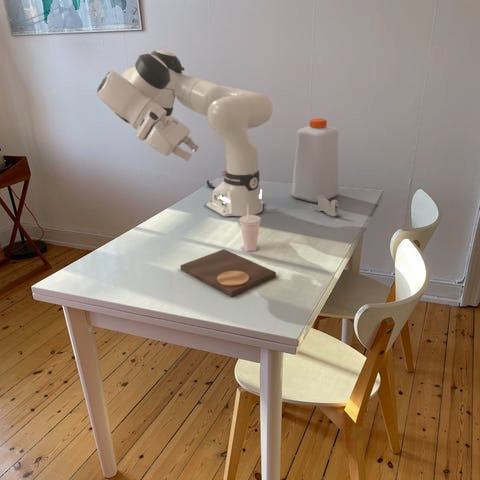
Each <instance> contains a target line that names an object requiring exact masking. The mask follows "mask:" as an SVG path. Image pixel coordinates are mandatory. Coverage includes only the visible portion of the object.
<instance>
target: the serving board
mask: <svg viewBox="0 0 480 480" xmlns="http://www.w3.org/2000/svg"><path fill="white" fill-rule="evenodd" d="M180 271H182V272H184V273H186V274H187V275H189V276H191V277H193V278H195V279H197V280H198V281H201V282H202V283H204V284H206V285H208V286H209V287H212V288H214V289H215V290H217V291H219V292H221V293H223V294H225V295H227V296H229V297H231V298H232V297H234V296H236V295H239V294H241V293H243V292H246V291H247V290H250V289H252V288H255V287H257V286H259V285H261V284H263V283H265V282H268V281H271V280H273V279H275V278H276V277H277V272H276V271H274V270H272V269H270V268H268V267H265V266H263V265H261V264H259V263H256V262H254V261H252V260H250V259H247V258H245V257H243V256H241V255H238V254H236V253H234V252H231V251H229V250H227V249H225V248H223V249H220V250H218V251H215V252H212V253H210V254H207V255H204V256H201V257H199V258H196V259H194V260H191V261H188V262H185V263H182V264H180Z"/></svg>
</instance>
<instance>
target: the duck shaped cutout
mask: <svg viewBox="0 0 480 480" xmlns="http://www.w3.org/2000/svg"><path fill="white" fill-rule="evenodd" d="M339 206H340V205H339V201H338V200H337V199H332V200H331V201H330V200H329V199H328V200H327V199H325V197H324V196H323V195H320V196H318V203H317V212H324V213H325V214H327V215H328V216H329V217H338V216H339V215H340V212H339Z"/></svg>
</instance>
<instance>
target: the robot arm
mask: <svg viewBox="0 0 480 480" xmlns="http://www.w3.org/2000/svg"><path fill="white" fill-rule="evenodd" d="M183 72H185V67H183V66H182V63H181V60H180V59H179V58H178V56H177V55H175V54H174V53H173V52H171V51H169V50H166V49H158V50H152V52H150V53H143V54H140V55H138V58H137V59H136V62H135V63H134V66H133V65H132V66H129V67H127V68H126V69H124V71H123V72H122V73H121V74H119V73H117V72H116V71H114V70H110V71H108V72H107V73H106V74H105V75H104V77H103V79H102V80H101V82H100V84H99V85H98V87H97V91H96V92H97V93H96V95H97V96H98V98H99V99H100V100H101V102H103V103H104V104H105V105H106V106H107V107H108V108H109V109H110V110H111V111H112V112H114V114H115V115H116V116H117V117H119V118H120V119H121V120H122V121H123V122H125V123H127V124H130V125H131V126H132V128H134V129H135V130H136V138H137V139H138V140H140V141H141V142H144V141H145V142H146V144H148V145H149V147H151V148H153V149H154V150H156V151H157V152H158V153H160V154H161V155H163V156H166V157H169V156H170V155H172V154H173V155H175V156H176V157H179V158H182V159H183V161H186V162H188V161H189V160H190V159H191V158H192V154H191V153H190V152H189V151H188V150H187V151H186V150H184V149H183V148H182V147H181V146H180V145H181V144H184V145H186V146H188V148H189V150H191V151H192V153H196V152H197V151H199V148H200V146H199V145H198V144H197V143H195V141H194V140H193V139H192V136H189V135H190V133H191V130H190V128H189V127H188V126H186V125H185V124H184V123H182V121H180V120H178V119H177V118H175V117H174V116H173V115H172V114H173V110H174V104H175V101H176V99H177V101H178V102H179V103H180V104H182V105H183V106H184V107H186V108H188V109H189V110H190V111H192V112H195V113H197V114H200V115H202V116H204V117H207V121H208V124H209V127H210V128H211V129H212V130H213V131H214V132H215V133H216V134H218V136H219V138H220V139H221V141H222V144H223V148H224V151H225V162H226V163H225V165H226V171H222V172H221V174H222V176H224V177H223V181H222V182H221V183H219V184H218V185H217V186H213V185H211V184H210V181H209V180H208V179H207V180H206V185H207V186H208V188H210V189H213V191H212V196H211V197H212V199H211V200H209V201H207V203H206V207H207V208H209V209H210V210H213V211H214V212H216V213H217V214H219V215H220V216H222V217H242V216H245V215H247V204H249V215H258V214H260V213H262V212H263V210H264V208H263V206H264V201H262V194H263V193H262V192H263V190H262V189H261V185H260V176H261V174H260V170H259V149H258V146H257V145H256V144H255V143H254V142H252V141H250V138H249V135H248V130H249V129H254V128H257V127H260V126H263V124H265V123H266V122H268V121H269V120H270V119H271V118H272V115H273V103H272V100H271V98H270V97H269V96H268V95H267V94H265V93H263V92H256V91H251V90H246V89H242V88H236V87H231V86H226V85H221V84H219V83H215V82H213V81H211V80H207V79H205V78H202V77H198V76H192V75H191V76H190V75H185V74H184V73H183Z"/></svg>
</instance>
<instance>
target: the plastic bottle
mask: <svg viewBox="0 0 480 480" xmlns="http://www.w3.org/2000/svg"><path fill="white" fill-rule="evenodd" d="M296 133H297V134H296V143H295V144H296V145H295V152H294V153H295V155H294V165H293V175H292V184H291V185H292V186H291V195H292V197H293V198H294V199H297V200H302V201H306V202H309V203H310V202H311V203H317V204H318V196H320V195H323V196H324V197H325V199H327V200H328V201H329V200H330V199H333V198H335V197H337V196H338V194H339V130H338V128H337V127H334V126H329V125H328V121H327V119H325V118H312V119H310V120H309V125H308V126H305V127H302V128H299V129H298V131H297V132H296Z"/></svg>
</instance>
